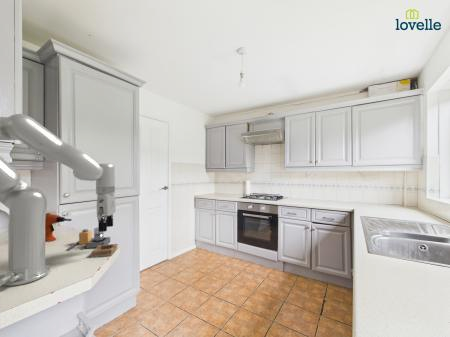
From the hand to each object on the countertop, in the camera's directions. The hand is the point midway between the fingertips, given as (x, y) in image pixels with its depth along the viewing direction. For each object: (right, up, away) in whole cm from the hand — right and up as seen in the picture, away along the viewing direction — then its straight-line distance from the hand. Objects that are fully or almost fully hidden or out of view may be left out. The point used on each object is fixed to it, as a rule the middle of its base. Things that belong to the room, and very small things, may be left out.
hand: (106, 228), depth 95 cm
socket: (-9, -11, +9) cm, 17 cm away
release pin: (-18, -11, +12) cm, 24 cm away
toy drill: (-34, -11, +14) cm, 39 cm away
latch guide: (-17, -11, +9) cm, 22 cm away
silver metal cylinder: (-9, -11, +9) cm, 17 cm away
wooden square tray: (0, -11, 0) cm, 11 cm away
